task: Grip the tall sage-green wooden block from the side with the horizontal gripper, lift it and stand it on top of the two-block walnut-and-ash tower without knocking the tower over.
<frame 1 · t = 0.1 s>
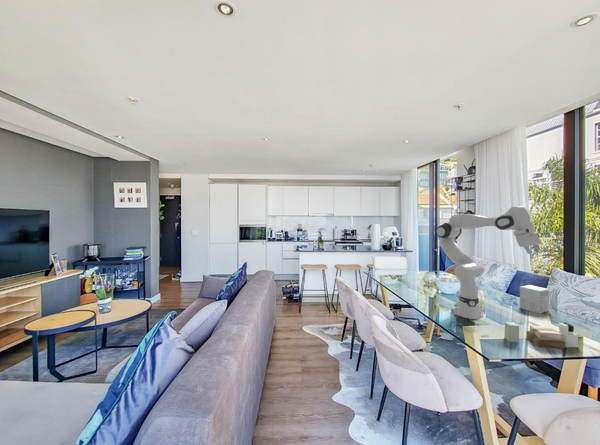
hand: (533, 253, 161), 52 cm above the table, tool tilted 20°, fingers open, 8 cm apart
tower top: (544, 336, 155), point 4 cm above the table, touching tower base
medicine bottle: (565, 344, 154), on the table
supplement box: (533, 309, 208), on the table
sage block: (511, 340, 159), on the table
tower base: (544, 343, 155), on the table, touching tower top
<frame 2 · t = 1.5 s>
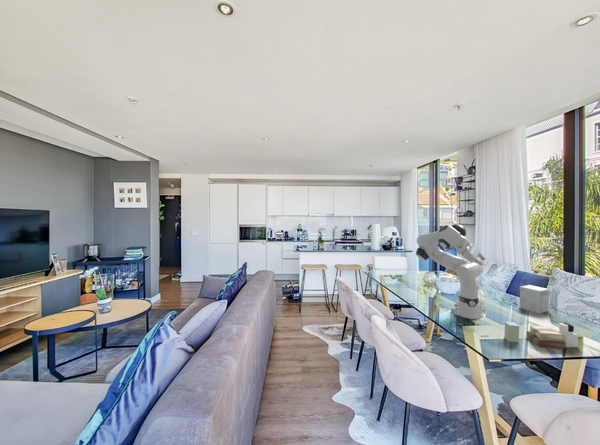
hand: (483, 262, 159), 47 cm above the table, tool tilted 50°, fingers open, 8 cm apart
tower top: (545, 336, 155), point 4 cm above the table
tower base: (544, 343, 155), on the table
everything else where it was.
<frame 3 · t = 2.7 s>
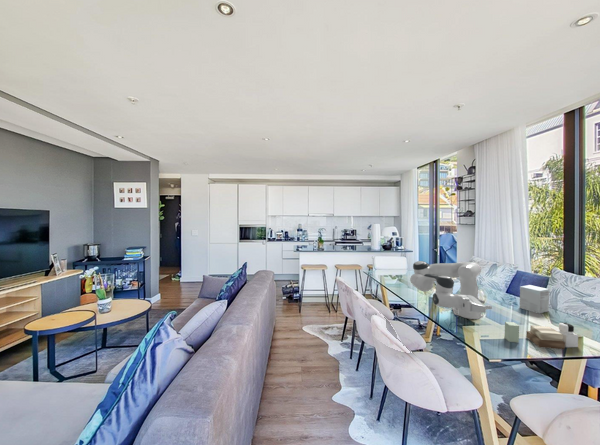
hand: (487, 304, 161), 21 cm above the table, tool horizontal, fingers open, 8 cm apart
nothing on the table moved.
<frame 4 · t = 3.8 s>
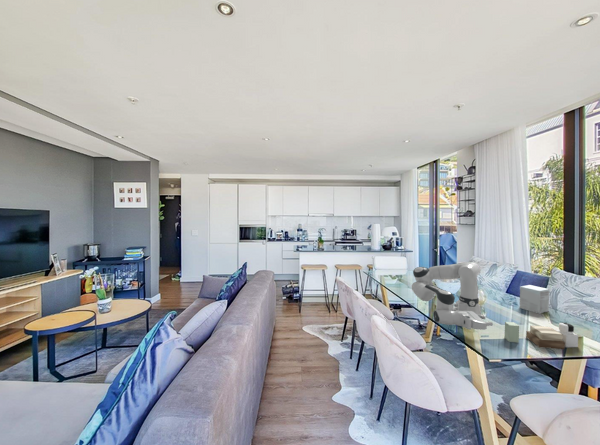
hand: (488, 320, 161), 11 cm above the table, tool horizontal, fingers open, 8 cm apart
tower top: (545, 336, 155), point 4 cm above the table, touching tower base
tower base: (544, 343, 155), on the table, touching tower top
everything else where it was.
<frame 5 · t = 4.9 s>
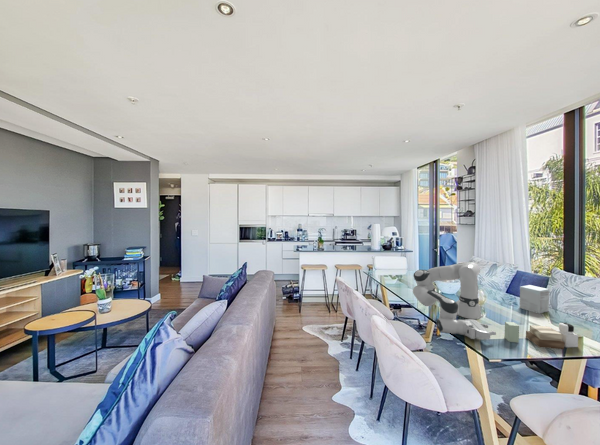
hand: (491, 329, 161), 5 cm above the table, tool horizontal, fingers open, 8 cm apart
tower top: (544, 336, 155), point 4 cm above the table
tower base: (544, 343, 155), on the table
everything else where it was.
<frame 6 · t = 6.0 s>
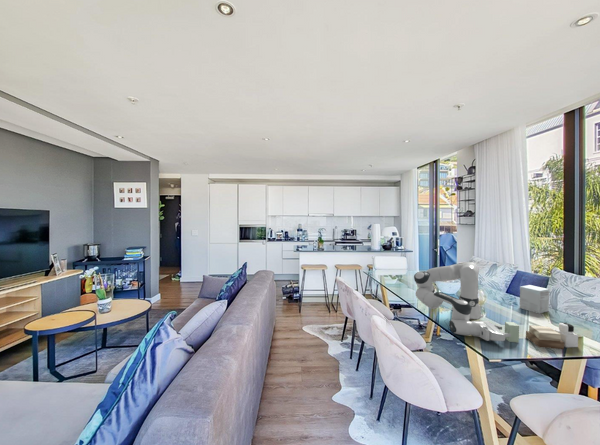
hand: (505, 331, 159), 5 cm above the table, tool horizontal, fingers open, 8 cm apart
nothing on the table moved.
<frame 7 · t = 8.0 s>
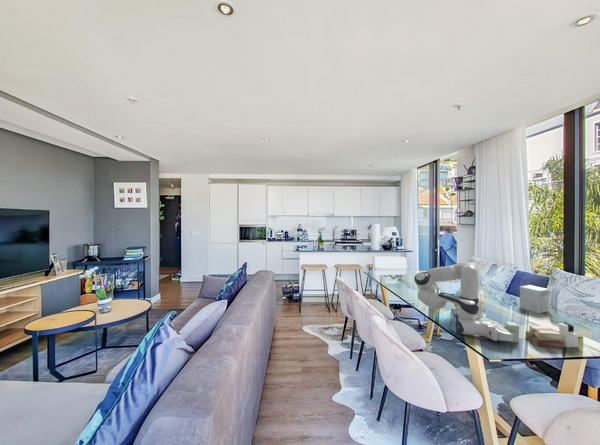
hand: (513, 331, 159), 6 cm above the table, tool horizontal, fingers closed on sage block, 5 cm apart
tower top: (544, 336, 155), point 4 cm above the table, touching tower base
sage block: (511, 340, 159), on the table, touching gripper
tower base: (543, 343, 155), on the table, touching tower top
everything else where it was.
when the fingers open (15 cm above the table, at t = 13.6 s): sage block drops 1 cm, point 8 cm above the table.
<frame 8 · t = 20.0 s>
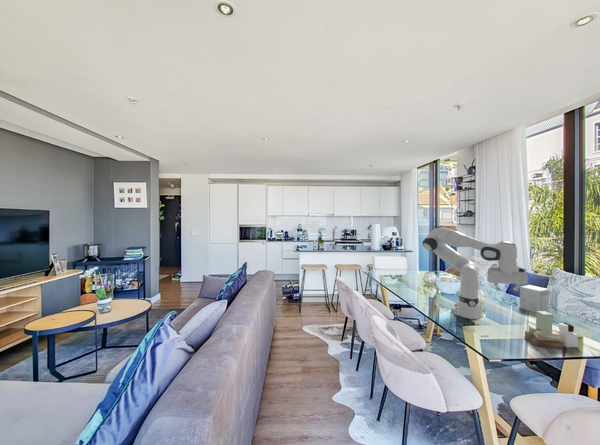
hand: (506, 290, 161), 29 cm above the table, tool pointing down, fingers open, 8 cm apart
sage block: (543, 329, 155), point 8 cm above the table
everything else where it was.
at the end: sage block 0.6 cm off-centre on the tower base, point 8.5 cm above the tower base's base; sage block tilted 0°; tower top moved 1.0 cm from its start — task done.
